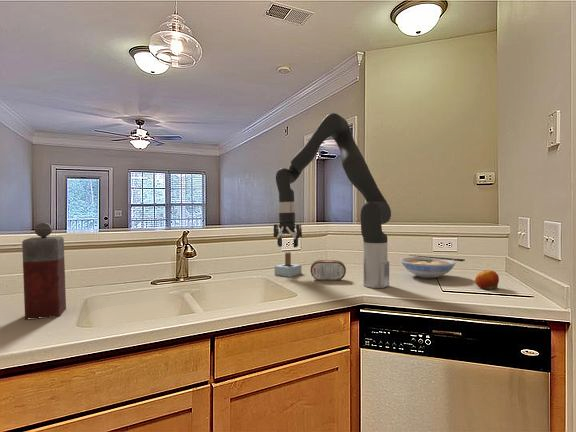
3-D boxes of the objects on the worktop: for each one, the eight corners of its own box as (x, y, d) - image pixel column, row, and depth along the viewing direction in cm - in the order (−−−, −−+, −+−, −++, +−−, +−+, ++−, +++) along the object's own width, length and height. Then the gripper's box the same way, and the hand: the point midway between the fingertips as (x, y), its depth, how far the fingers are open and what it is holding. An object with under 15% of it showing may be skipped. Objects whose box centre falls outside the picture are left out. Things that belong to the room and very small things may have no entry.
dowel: (292, 273, 171) (291, 252, 171) (288, 274, 169) (288, 253, 169) (287, 273, 173) (287, 252, 172) (284, 274, 171) (283, 252, 170)
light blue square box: (301, 273, 172) (301, 264, 172) (290, 276, 165) (290, 267, 165) (285, 271, 177) (285, 263, 177) (274, 274, 170) (274, 266, 170)
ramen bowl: (387, 276, 163) (387, 258, 162) (414, 269, 178) (414, 253, 178) (443, 285, 144) (443, 264, 144) (468, 277, 159) (468, 258, 159)
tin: (345, 279, 158) (345, 260, 158) (346, 281, 155) (346, 261, 154) (310, 279, 159) (310, 259, 159) (310, 280, 156) (310, 261, 156)
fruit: (497, 288, 132) (486, 268, 135) (478, 296, 138) (468, 276, 141) (508, 285, 136) (497, 265, 140) (490, 293, 142) (479, 273, 145)
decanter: (67, 306, 121) (64, 221, 120) (60, 316, 110) (56, 222, 109) (35, 309, 117) (32, 222, 116) (24, 319, 107) (21, 223, 106)
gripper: (304, 211, 169) (305, 246, 169) (279, 211, 177) (279, 245, 177) (295, 211, 163) (296, 248, 163) (269, 212, 171) (270, 247, 171)
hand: (287, 246), depth 170 cm, fingers open, 8 cm apart
